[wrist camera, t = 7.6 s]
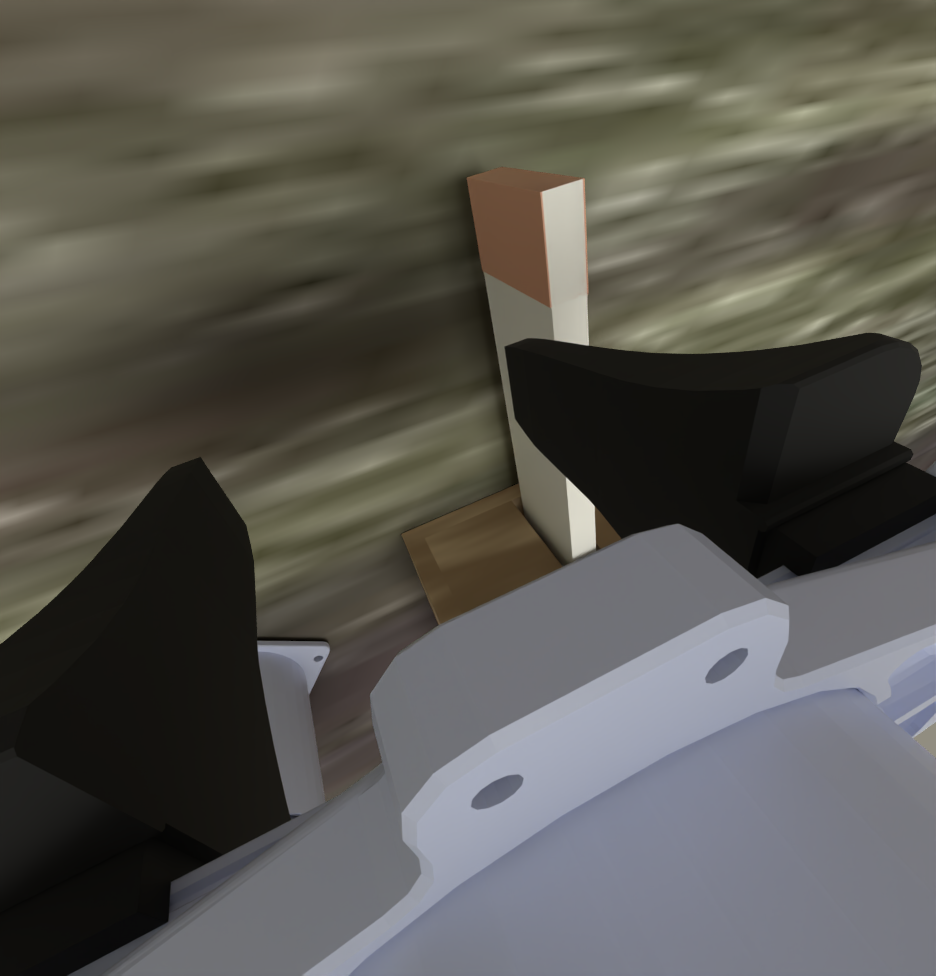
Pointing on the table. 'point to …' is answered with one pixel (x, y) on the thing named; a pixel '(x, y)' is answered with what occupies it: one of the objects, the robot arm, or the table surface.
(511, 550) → the ticket box
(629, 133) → the table surface
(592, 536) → the ticket
